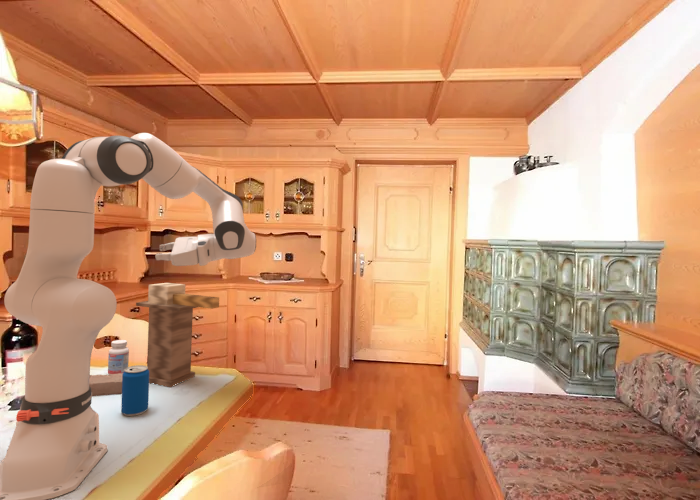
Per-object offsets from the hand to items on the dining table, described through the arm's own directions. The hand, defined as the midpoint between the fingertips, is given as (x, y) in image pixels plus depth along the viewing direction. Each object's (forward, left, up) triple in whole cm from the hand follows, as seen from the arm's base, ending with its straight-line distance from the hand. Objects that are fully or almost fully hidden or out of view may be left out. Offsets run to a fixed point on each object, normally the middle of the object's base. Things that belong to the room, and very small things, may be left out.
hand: (157, 252), depth 121 cm
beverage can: (-16, +3, -43) cm, 46 cm away
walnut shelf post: (+8, -4, -43) cm, 44 cm away
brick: (+3, +15, -44) cm, 46 cm away
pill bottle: (+18, +13, -43) cm, 49 cm away
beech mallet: (+5, -8, -17) cm, 20 cm away
